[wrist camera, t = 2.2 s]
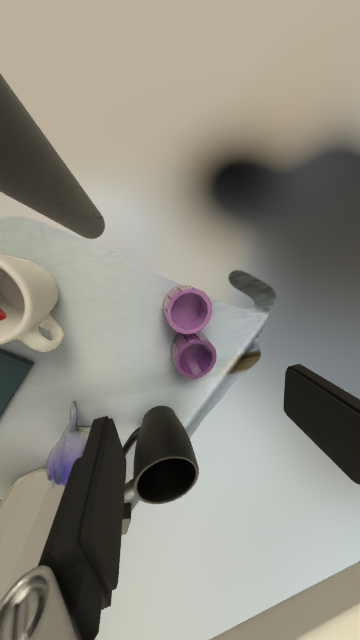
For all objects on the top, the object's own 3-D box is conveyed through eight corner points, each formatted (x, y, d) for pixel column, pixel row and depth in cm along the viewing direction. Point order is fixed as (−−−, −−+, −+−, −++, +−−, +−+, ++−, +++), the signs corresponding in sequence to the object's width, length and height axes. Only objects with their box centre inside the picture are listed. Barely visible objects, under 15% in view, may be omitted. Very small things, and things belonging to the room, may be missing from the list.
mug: (105, 415, 28) (89, 484, 19) (177, 393, 30) (194, 446, 21) (120, 450, 30) (111, 526, 22) (185, 428, 32) (203, 489, 23)
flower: (1, 445, 19) (45, 534, 18) (84, 393, 23) (123, 463, 22) (33, 427, 27) (65, 487, 26) (90, 391, 31) (119, 442, 30)
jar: (74, 458, 29) (-20, 730, 12) (81, 498, 31) (14, 765, 15) (2, 471, 27) (-235, 824, 10) (17, 513, 29) (-148, 845, 12)
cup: (97, 314, 23) (78, 336, 16) (47, 348, 23) (4, 387, 16) (31, 238, 20) (-36, 220, 12) (-30, 278, 19) (-136, 286, 12)
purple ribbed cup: (167, 335, 26) (171, 345, 23) (205, 327, 27) (214, 335, 24) (174, 369, 28) (178, 382, 25) (208, 360, 29) (217, 372, 26)
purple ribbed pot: (159, 289, 24) (162, 293, 21) (200, 282, 25) (209, 284, 22) (166, 329, 26) (170, 338, 23) (204, 321, 27) (213, 328, 24)
